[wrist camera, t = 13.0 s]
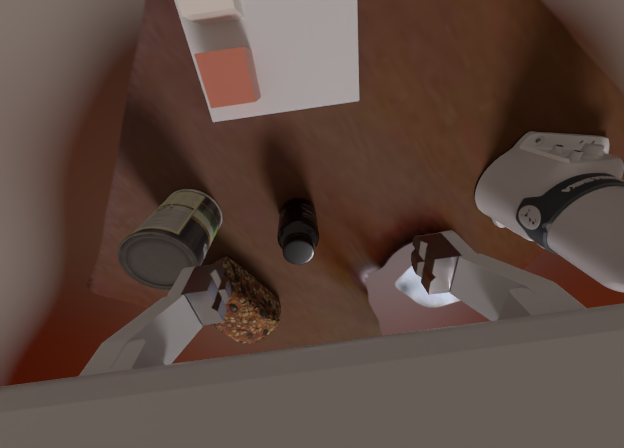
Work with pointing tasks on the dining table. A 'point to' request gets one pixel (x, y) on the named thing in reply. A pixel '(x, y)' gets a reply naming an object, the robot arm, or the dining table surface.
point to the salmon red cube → (229, 76)
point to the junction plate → (287, 53)
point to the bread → (247, 306)
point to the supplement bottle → (298, 231)
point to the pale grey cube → (211, 10)
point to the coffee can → (171, 239)
